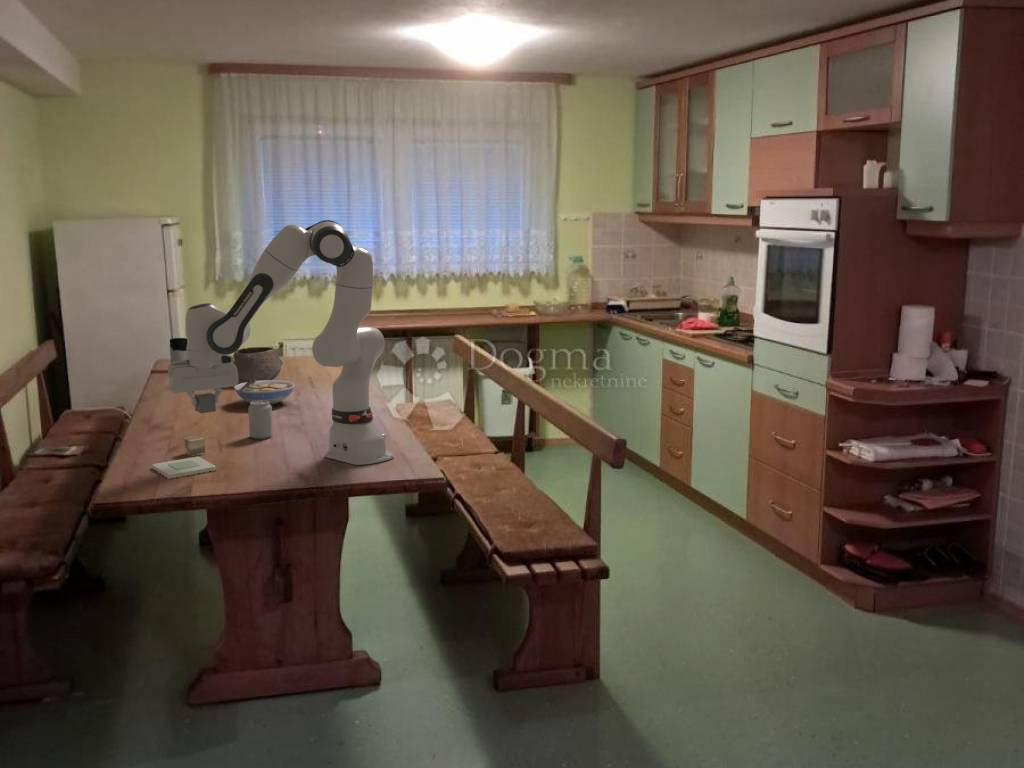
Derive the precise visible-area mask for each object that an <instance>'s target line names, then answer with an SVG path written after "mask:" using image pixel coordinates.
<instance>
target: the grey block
mask: <svg viewBox="0 0 1024 768" xmlns="http://www.w3.org/2000/svg"><path fill="white" fill-rule="evenodd" d="M214 394H215V393H211V392H202V393H194V395H193V397H194V398H195V399H198V405H196V406H194V411H195V412H197V413H199V414H207V413H212V412H216V411H217V409H216V408H217V406H216V405H217V403H215V395H214Z"/></svg>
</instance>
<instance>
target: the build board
mask: <svg viewBox="0 0 1024 768" xmlns="http://www.w3.org/2000/svg"><path fill="white" fill-rule="evenodd" d="M152 468H153V469H152ZM217 468H218V467H217V466H216V465H215V464H213V463H211V462H209V461H207V460H206V459H204V458H202V457H200V455H197V456H192V457H187V458H181V459H175V460H169V461H163V462H158V463H153V464H151V469H152V470H154V469H155V470H156V471H155V472H157V471H158V472H157V473H159V474H160V473H161V474H160V475H161V476H163V475H164V476H163V477H165V478H166V477H167V478H166V479H167V480H171V478H172V479H177V478H176V477H178V478H183V477H188V476H187V475H189V476H193V474H194V475H197V474H198V473H200V474H204V473H203V472H205V473H210V472H209V471H211V472H215V470H216V471H218V470H217ZM198 475H199V474H198ZM182 476H183V477H182Z"/></svg>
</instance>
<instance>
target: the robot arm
mask: <svg viewBox="0 0 1024 768" xmlns="http://www.w3.org/2000/svg"><path fill="white" fill-rule="evenodd" d="M313 256H316V257H317V258H318V259H319V260H321V261H322V262H324V263H327V264H330V265H332V266H335V268H336V279H335V290H334V299H333V307H332V309H331V310H332V311H331V314H330V316H329V318H328V321H327V323H326V324H325V326H324V328H323V330H322V331H321V332H320V333H319V334H318V335H317V336H316V337H315V338H314V340H313V343H312V347H311V352H312V355H313V359H314V360H315V361H316V362H317V364H319V365H320V366H322V367H330V368H338V367H342V368H341V369H342V370H341V372H340V374H339V375H338V376H337V378H335V379H334V381H333V383H332V409H331V420H332V425H331V427H329V431H328V445H327V446H328V447H327V450H328V451H326V452H324V457H325V458H328V459H331V460H332V459H333V460H336V461H339V462H343V463H347V464H349V465H353V466H354V465H355V466H360V465H369V464H370V465H371V464H376V463H377V464H378V463H381V462H385V461H390V460H392V459H394V458H395V456H394V453H392V452H391V451H389V450H388V449H387V448H386V447H387V446H386V434H385V433H381V431H380V430H379V428H378V427H377V425H376V424H375V422H374V421H373V420H374V418H373V417H374V416H373V415H374V412H373V411H372V409H371V407H370V381H371V376H372V373H373V370H374V366H375V365H376V363H377V361H378V359H379V358H380V356H381V355H382V354H383V353H384V350H385V348H386V346H385V345H386V341H385V337H384V335H383V333H382V332H381V331H380V329H378V328H376V327H371V326H363V325H362V326H360V325H361V323H362V322H363V321H364V319H365V318H367V316H368V315H369V314H370V312H371V310H372V303H373V302H372V300H373V287H374V263H373V256H372V254H371V253H370V252H369V251H368V250H366V248H362V247H358V246H353V244H352V242H351V240H350V237H349V236H348V233H347V231H346V230H345V229H344V227H343V226H342V225H341V224H340V223H338V222H336V221H334V220H329V219H327V220H326V219H324V220H321V221H319V222H317V223H315V224H312V225H310V226H308V227H306V228H304V227H302V226H299V225H297V224H288V225H286V226H284V227H283V228H282V229H281V230H280V231H279V232H277V234H276V235H275V236H274V237H273V239H271V241H270V242H269V243H268V245H267V246H266V247H265V249H264V250H263V252H262V253H261V254H260V257H259V258H258V260H257V262H256V264H255V266H254V268H253V271H252V273H251V274H250V278H249V280H248V283H246V286H245V288H244V290H243V291H242V292H241V294H240V296H239V297H238V298H237V300H236V301H235V302H234V304H233V305H232V306H231V308H230V309H229V310H228V311H225V310H223V309H221V308H219V307H217V306H216V305H214V304H213V303H200V304H196V305H192V306H191V307H189V308H188V309H187V310H186V313H185V320H184V322H185V326H184V327H185V328H184V329H185V338H187V348H186V349H187V360H182V361H174V362H172V363H171V362H170V363H169V365H168V366H167V374H168V390H169V391H170V392H171V393H174V394H180V393H186V395H187V396H188V397H189V399H190V400H191V401H190V402H191V406H192V407H195V406H196V405H198V399H195V398H194V394H195V392H196V391H204V390H206V391H207V390H212V389H214V391H215V392H214V393H213V394H214V395H215V404H217V403H219V397H220V395H221V393H222V389H223V388H229V387H234V386H236V385H238V384H239V380H238V372H237V368H236V366H235V364H233V363H234V357H233V355H232V354H234V353H235V352H236V351H237V350H239V349H241V348H240V347H241V346H242V345H243V344H244V343H246V341H247V340H248V339H249V337H250V333H251V327H250V324H249V323H250V322H251V321H252V318H253V317H254V316H255V314H257V312H258V310H259V309H260V307H262V305H263V304H264V302H266V301H267V300H268V299H270V297H272V296H273V295H274V294H277V293H278V292H279V291H281V290H282V289H283V288H284V287H285V286H286V285H287V284H288V283H290V281H291V280H292V279H293V277H294V276H295V275H296V274H297V272H298V271H299V270H300V268H301V267H302V265H303V263H305V261H306V260H307V259H308V258H310V257H313ZM172 364H173V365H172ZM178 364H179V365H178Z"/></svg>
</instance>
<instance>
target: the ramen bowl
mask: <svg viewBox="0 0 1024 768" xmlns="http://www.w3.org/2000/svg"><path fill="white" fill-rule="evenodd" d="M253 379H254V377H252V378H251V379H250V380H249V381H248V382H245V383H242V382H240V383H238V384H237V385H236V386H233V389H234V391H235V392H236V394H237V395H238V396H239V397H240V399H242V400H244V401H245V402H248V403H249V404H250V402H253V401H261V400H263V401H269V404H270V405H271V406H275V405H276V404H278V403H280V402H281V401H284V400H286V399H287V398H288V397H289V396H290V395H291V394H292V391H293V390H294V388H295V383H294V382H292V381H287V380H279V379H278V380H277V379H276V380H275V379H273V380H262V381H256V380H257V379H258V377H256V378H255V379H254V380H253ZM252 380H253V381H252Z"/></svg>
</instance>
